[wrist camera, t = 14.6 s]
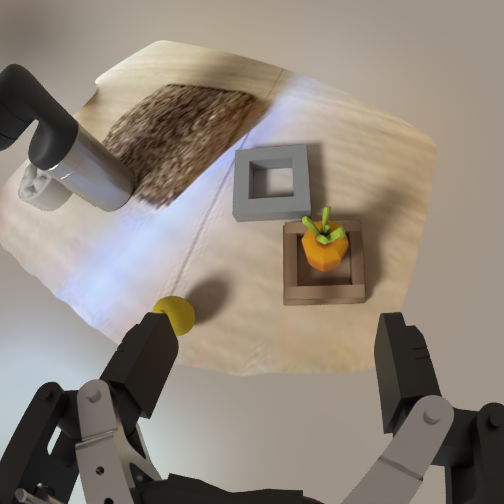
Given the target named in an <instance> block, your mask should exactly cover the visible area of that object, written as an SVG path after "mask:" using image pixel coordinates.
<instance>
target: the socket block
mask: <svg viewBox="0 0 504 504" xmlns="http://www.w3.org/2000/svg"><path fill="white" fill-rule="evenodd" d="M278 168H293V186H294V196H292V197H274V198H258V199H253V170H265V169H278ZM232 215H233V216H234V218H235V219H236V220H237V222H246V221H264V220H285V219H302V218H303V217H305V216H307V217H308V218H311V205H310V188H309V173H308V160H307V148H306V145H290V146H276V147H264V148H253V149H243V150H236V153H235V172H234V192H233V214H232Z"/></svg>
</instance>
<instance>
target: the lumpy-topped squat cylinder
mask: <svg viewBox="0 0 504 504" xmlns="http://www.w3.org/2000/svg"><path fill="white" fill-rule="evenodd" d="M72 193H73V192H72V191H70V190H68V189H67V188H65V185H63V184H62V183H60V182H59V181H57V180H56V179H54V178H53V177H51V176H50V175H48V174H47V173H45V172H44V171H42V170H40V169H39V168H37V167H36V166H34V165H33V164H32V163H30V164H29V166H28V167H27V168H26V170H25V173H24V176H23V178H22V181H21V183H20V187H19V190H18V196H19V198H20V199H22V200H23V201H25V202H27V203H29V204H31V205H33V206H35V207H36V208H38V209H40V210H43V211H54V210H56V209H58V208H59V207H61V206H62V205H63V204H64V203H65V202H66V201H67V200H68V199H69V198H70V196H71V195H72Z"/></svg>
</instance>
